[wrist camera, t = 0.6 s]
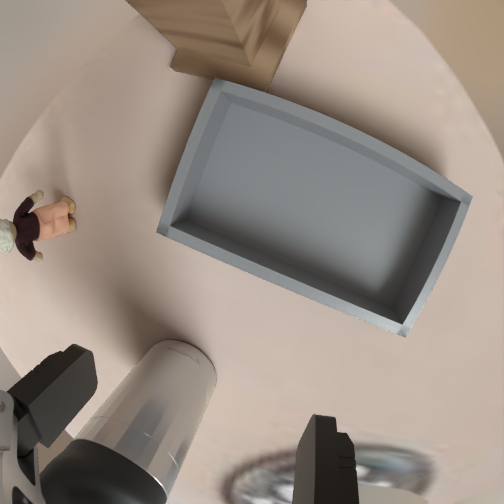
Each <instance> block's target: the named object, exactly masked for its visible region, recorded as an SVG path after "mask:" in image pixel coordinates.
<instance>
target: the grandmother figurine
mask: <svg viewBox="0 0 504 504" xmlns="http://www.w3.org/2000/svg"><path fill="white" fill-rule="evenodd" d="M42 198H43V192H42V191H41V190H38V191H37V192H36V193H35V194H32V195H31V196H29V197H27V198H26V199H25V200H24V201H23V202H22V203H21V205H20V206H19V207H18V209H17V210H16V212H15V214H14V219H13V223H12V222H11V221H8V220H7V219H4V220H2V219H0V252H6V251H9V252H10V250H11V249H12V248H13V246H14V241H15V243H16V246H17V248H18V250H19V252H20V253H21V254H22V255H23V256H24V257H26V258H27V259H28V260H30V261H31V260H37V261H41V260H42V259H43V255H42V253H41V252H37V251H35V248H34V245H33V240H35V241H40V240H45V239H49V238H53V237H55V236H58V235H60V234H63V233H68V232H72V231H74V230H75V229H76V222H75V220H74V219H73V218H68V213H69V214H73V213H74V212H75V207H76V206H75V203H74V202H73V201H72V200H71V199H69V198H68V197H63V198H62V199H61V200H60V202H59V203H54V204H51V205H47V206H43V207H40V208H37V209H35V210H34V211H32V212H30V213H28V212H29V210H30V209H31V208H32V207H33V206H34V204H35V203H36V202H37V201H38V200H40V199H42Z"/></svg>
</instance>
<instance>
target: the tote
mask: <svg viewBox="0 0 504 504" xmlns="http://www.w3.org/2000/svg"><path fill="white" fill-rule="evenodd" d="M472 197H473V196H471V195H470V194H468V193H467V192H465V191H464V190H463V189H461V188H460V187H458V186H457V185H455V184H454V183H452V182H451V181H449V180H447V179H446V178H444V177H443V176H441V175H440V174H438V173H436V172H435V171H433V170H432V169H430V168H428V167H427V166H425V165H423V164H422V163H420V162H418V161H416V160H415V159H413V158H411V157H410V156H408V155H406V154H404V153H402V152H401V151H399V150H397V149H395V148H393V147H391V146H389V145H388V144H386V143H384V142H382V141H380V140H378V139H376V138H374V137H372V136H370V135H368V134H366V133H364V132H362V131H360V130H357V129H355V128H353V127H351V126H349V125H347V124H344V123H342V122H340V121H338V120H335V119H333V118H331V117H328V116H326V115H324V114H321V113H319V112H317V111H314V110H312V109H309V108H307V107H304V106H301V105H299V104H296V103H293V102H291V101H288V100H285V99H282V98H280V97H277V96H274V95H271V94H268V93H265V92H262V91H259V90H256V89H253V88H249V87H246V86H243V85H240V84H236V83H233V82H229V81H226V80H222V79H218V78H214V80H213V82H212V84H211V87H210V89H209V91H208V93H207V96H206V98H205V100H204V103H203V105H202V107H201V110H200V112H199V114H198V117H197V119H196V122H195V124H194V127H193V129H192V132H191V134H190V137H189V139H188V142H187V144H186V147H185V150H184V152H183V155H182V158H181V160H180V163H179V166H178V168H177V171H176V174H175V177H174V180H173V183H172V185H171V188H170V191H169V194H168V197H167V200H166V203H165V206H164V209H163V213H162V216H161V219H160V222H159V225H158V228H157V233H159V234H161V235H163V236H166V237H168V238H170V239H172V240H175V241H177V242H179V243H181V244H184V245H186V246H188V247H190V248H193V249H195V250H197V251H199V252H202V253H204V254H206V255H209V256H211V257H213V258H215V259H218V260H220V261H222V262H225V263H227V264H229V265H232V266H234V267H236V268H238V269H241V270H243V271H245V272H248V273H250V274H252V275H255V276H257V277H259V278H262V279H264V280H266V281H269V282H271V283H274V284H276V285H278V286H281V287H283V288H285V289H288V290H290V291H292V292H295V293H297V294H300V295H302V296H304V297H307V298H309V299H312V300H314V301H316V302H319V303H321V304H324V305H326V306H329V307H331V308H333V309H336V310H338V311H341V312H343V313H346V314H348V315H351V316H353V317H355V318H358V319H360V320H363V321H365V322H368V323H370V324H373V325H375V326H378V327H380V328H383V329H385V330H388V331H390V332H393V333H395V334H398V335H400V336H403V337H406V335H407V334H408V332H409V330H410V329H411V327H412V325H413V324H414V322H415V320H416V318H417V317H418V315H419V313H420V311H421V310H422V308H423V306H424V304H425V302H426V301H427V299H428V297H429V295H430V293H431V291H432V289H433V287H434V285H435V284H436V282H437V280H438V278H439V276H440V273H441V271H442V269H443V267H444V265H445V263H446V261H447V259H448V257H449V254H450V252H451V250H452V248H453V245H454V243H455V241H456V238H457V236H458V234H459V231H460V229H461V226H462V224H463V221H464V219H465V216H466V213H467V211H468V208H469V205H470V203H471V200H472Z"/></svg>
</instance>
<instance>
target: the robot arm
mask: <svg viewBox="0 0 504 504" xmlns="http://www.w3.org/2000/svg"><path fill="white" fill-rule="evenodd" d="M216 380H217V379H216V372H215V369H214V367H213V365H212V363H211V362H210V360H209V359H208V358H207V357H206V356H205V355H204V354H203V353H202V352H201V351H199V350H198V349H197V348H195V347H193V346H192V345H190V344H187V343H184V342H181V341H176V340H166V341H161V342H159V343H157V344H155V345H154V346H153V347H152V348H151V349H150V350H149V351H148V352H147V353H146V354H145V355H144V357H143V358H142V359H141V360H140V361H139V362H138V363H137V365H136V366H135V367H134V368H133V369H132V370H131V372H130V373H129V374H128V375H127V376H126V377H125V379H124V380H123V381H122V382H121V383H120V384H119V386H118V387H117V388H116V389H115V390H114V392H113V393H112V394H111V395H110V396H109V397H108V399H107V400H106V401H105V402H104V403H103V405H102V406H101V407H100V408H99V409H98V410H97V412H96V413H95V414H94V415H93V416H92V418H91V419H90V420H89V421H88V423H87V424H86V425H85V426H84V427H83V429H82V430H81V431H80V432H79V433H78V435H77V436H76V437H75V438H74V439H73V441H72V442H71V443H70V444H69V445H68V446H67V448H66V449H65V450H64V451H63V452H62V453H61V454H59V455H58V456H57V457H55V458H54V459H53V460H52V461H51V462H50V463H49V464H48V465H47V466H46V467H45V469H44V470H43V471H42V472H41V473H40V474H39V465H38V449H37V446H36V444H37V443H38V442H40V443H41V444H43V445H44V446H46V447H47V448H49V447H50V446H51V444H52V443H53V442H54V441H55V440H56V438H57V437H58V436H59V435H60V434H61V432H62V431H63V430H64V429H65V428H66V427H67V425H68V424H69V423H70V422H71V421H72V419H73V418H74V417H75V416H76V415H77V414H78V412H79V411H80V410H81V409H82V408H83V407H84V405H85V404H86V403H87V402H88V401H89V400H90V398H91V397H92V396H93V395H94V393H95V391H96V389H97V384H98V381H97V375H96V369H95V363H94V356H93V353H92V352H91V351H90V350H87V349H85V348H83V347H81V346H79V345H77V344H72V345H71V346H69V347H68V348H67V349H66V350H65V351H64V352H62V351H59V352H57V353H54V354H52V355H49V356H48V357H47V358H45V359H44V360H43V361H42V362H41V363H40V365H39V364H38V365H37V366H36V367H35V368H34V369H33V371H32V370H31V371H30V372H29V373H28V374H27V375H25V376H24V377H23V378H22V379H21V380H20V381H18V382H17V383H16V384H15V385H14V386H13V387H12V388H10V389H9V390H8V391H7V392H5V391H3V390H0V504H165V503H166V501H167V499H168V496H169V494H170V492H171V489H172V487H173V485H174V483H175V480H176V478H177V475H178V473H179V471H180V468H181V466H182V464H183V461H184V459H185V457H186V454H187V452H188V450H189V447H190V445H191V443H192V440H193V438H194V436H195V433H196V431H197V429H198V426H199V424H200V422H201V419H202V417H203V414H204V412H205V410H206V408H207V405H208V403H209V400H210V398H211V396H212V393H213V391H214V388H215V386H216ZM292 504H359V495H358V482H357V471H356V461H355V451H354V444H353V443H352V441H351V439H350V438H349V436H348V434H347V433H340V432H337V425H336V418H335V417H330V416H322V415H315V414H313V415H312V417H311V419H310V421H309V423H308V425H307V427H306V429H305V431H304V433H303V435H302V437H301V439H300V442H299V445H298V449H297V454H296V466H295V478H294V490H293V500H292Z"/></svg>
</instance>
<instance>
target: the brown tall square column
mask: <svg viewBox="0 0 504 504" xmlns="http://www.w3.org/2000/svg"><path fill="white" fill-rule="evenodd" d="M126 1H127V2H128V3H129V4H130V5H131V6H132V7H133V8H135V9H136V10H137V11H138V12H139V13H140V14H141V15H142V16H143V17H144V18H145V19H146V20H147V21H149V22H150V23H151V24H152V25H153V26H154V27H155V28H156V29H157V30H158V31H159V32H160V33H161V34H162V35H163V36H164V37H165V38H166V39H167V40H168V41H169V42H170V43H171V44H172V45H173V46H174V47H175V48H176V49H177V50H178V51H177V53H176V55H175V57H174V59H173V61H172V63H171V65H170V67H171V68H172V69H173V70H175V71H177V72H182V73H186V74H191V75H195V76H199V77H203V78H207V79H211V80H214V78H218V79H222V80H226V81H229V82H233V83H236V84H240V85H243V86H246V87H249V88H253V89H256V90H259V91H262V92H265V93H267V90H268V88H269V86H270V84H271V81H272V79H273V77H274V75H275V72H276V70H277V68H278V66H279V64H280V61H281V59H282V57H283V55H284V53H285V50H286V48H287V46H288V44H289V42H290V40H291V38H292V35H293V33H294V31H295V29H296V27H297V25H298V23H299V21H300V19H301V17H302V15H303V13H304V10H305V8H306V6H307V0H126Z"/></svg>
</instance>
